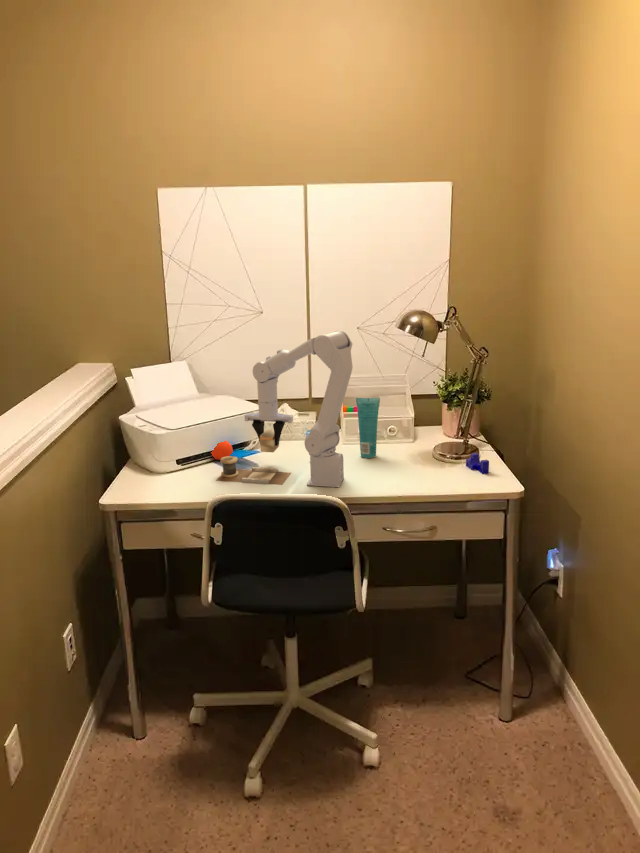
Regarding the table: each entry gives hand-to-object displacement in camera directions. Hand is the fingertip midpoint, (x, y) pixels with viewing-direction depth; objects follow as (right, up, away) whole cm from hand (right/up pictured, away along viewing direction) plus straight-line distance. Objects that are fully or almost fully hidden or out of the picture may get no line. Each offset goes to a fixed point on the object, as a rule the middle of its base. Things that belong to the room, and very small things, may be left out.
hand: (269, 444), depth 222 cm
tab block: (0, -1, 0) cm, 1 cm away
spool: (-11, -9, -5) cm, 15 cm away
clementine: (-16, -6, +11) cm, 21 cm away
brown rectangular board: (-4, -11, -6) cm, 13 cm away
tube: (+31, -4, +13) cm, 34 cm away
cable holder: (+62, -8, -1) cm, 63 cm away
